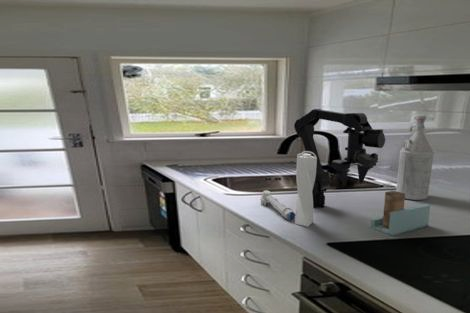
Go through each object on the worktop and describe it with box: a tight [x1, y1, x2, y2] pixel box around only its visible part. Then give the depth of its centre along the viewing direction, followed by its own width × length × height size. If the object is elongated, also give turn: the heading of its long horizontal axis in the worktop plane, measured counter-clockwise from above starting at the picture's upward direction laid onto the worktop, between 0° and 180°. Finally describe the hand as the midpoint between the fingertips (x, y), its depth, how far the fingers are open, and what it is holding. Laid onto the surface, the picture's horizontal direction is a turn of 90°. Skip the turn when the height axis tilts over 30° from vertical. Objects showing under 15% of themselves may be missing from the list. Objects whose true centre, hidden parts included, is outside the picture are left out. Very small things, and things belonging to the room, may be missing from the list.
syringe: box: [260, 190, 296, 222], centre depth 138 cm, size 5×7×25 cm
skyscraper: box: [294, 150, 317, 227], centre depth 121 cm, size 8×8×28 cm
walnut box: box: [383, 190, 406, 229], centre depth 117 cm, size 4×4×13 cm
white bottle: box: [395, 113, 435, 201], centre depth 156 cm, size 13×17×40 cm
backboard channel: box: [370, 203, 431, 236], centre depth 120 cm, size 9×20×8 cm, turn 118°
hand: (352, 184), depth 130 cm, fingers open, 9 cm apart
